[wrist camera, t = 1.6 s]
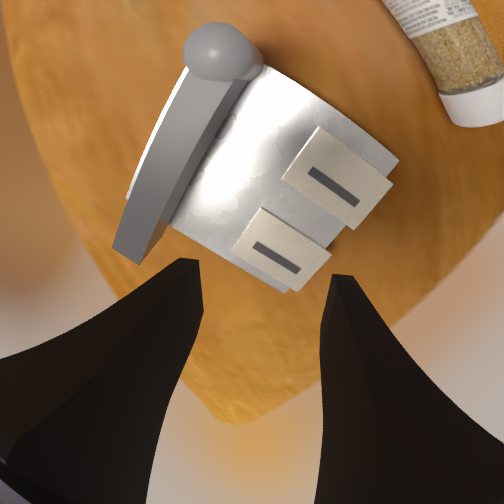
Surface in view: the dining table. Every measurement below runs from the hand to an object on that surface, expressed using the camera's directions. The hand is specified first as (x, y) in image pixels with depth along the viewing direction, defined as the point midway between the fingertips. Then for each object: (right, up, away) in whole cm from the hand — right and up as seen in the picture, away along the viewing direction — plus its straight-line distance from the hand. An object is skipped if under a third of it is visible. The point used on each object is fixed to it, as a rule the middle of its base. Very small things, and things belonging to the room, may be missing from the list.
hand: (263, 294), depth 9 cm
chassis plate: (0, +6, +8) cm, 10 cm away
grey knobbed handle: (-3, +7, +6) cm, 10 cm away
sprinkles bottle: (+4, +18, -4) cm, 19 cm away
